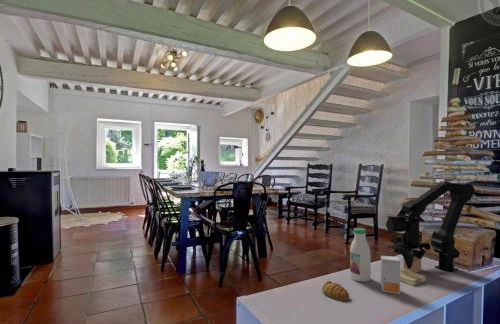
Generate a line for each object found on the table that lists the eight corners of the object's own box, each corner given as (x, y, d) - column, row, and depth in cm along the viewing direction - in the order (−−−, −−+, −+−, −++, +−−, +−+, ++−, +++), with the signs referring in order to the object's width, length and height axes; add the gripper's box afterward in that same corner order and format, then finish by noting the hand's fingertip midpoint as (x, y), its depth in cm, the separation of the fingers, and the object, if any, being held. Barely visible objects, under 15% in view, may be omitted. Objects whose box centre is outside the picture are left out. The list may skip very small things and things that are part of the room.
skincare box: (381, 292, 100) (381, 258, 100) (380, 287, 104) (380, 255, 104) (400, 294, 98) (400, 260, 98) (399, 289, 102) (398, 256, 102)
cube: (410, 266, 125) (409, 255, 125) (421, 270, 121) (421, 258, 121) (403, 268, 123) (403, 257, 123) (415, 272, 118) (414, 260, 118)
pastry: (354, 298, 95) (354, 287, 95) (341, 304, 92) (341, 292, 92) (332, 288, 103) (332, 278, 103) (319, 293, 100) (319, 282, 100)
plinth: (403, 273, 118) (403, 268, 118) (425, 280, 110) (425, 275, 110) (390, 277, 113) (390, 272, 113) (412, 285, 105) (412, 279, 105)
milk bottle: (367, 275, 116) (366, 227, 116) (373, 282, 108) (373, 231, 108) (348, 274, 116) (347, 226, 117) (353, 282, 109) (352, 230, 109)
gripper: (406, 226, 134) (406, 258, 133) (381, 230, 124) (382, 265, 124) (430, 230, 124) (431, 265, 124) (406, 235, 115) (407, 273, 114)
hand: (412, 267), depth 122 cm, fingers closed on cube, 5 cm apart
